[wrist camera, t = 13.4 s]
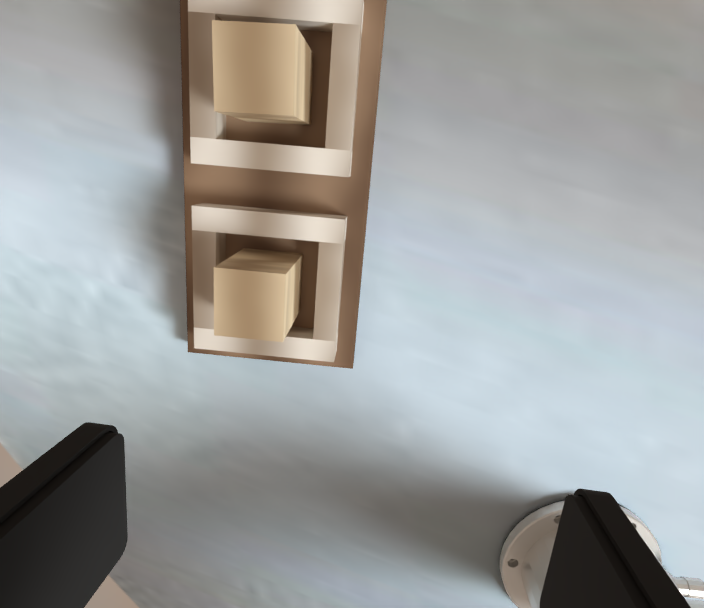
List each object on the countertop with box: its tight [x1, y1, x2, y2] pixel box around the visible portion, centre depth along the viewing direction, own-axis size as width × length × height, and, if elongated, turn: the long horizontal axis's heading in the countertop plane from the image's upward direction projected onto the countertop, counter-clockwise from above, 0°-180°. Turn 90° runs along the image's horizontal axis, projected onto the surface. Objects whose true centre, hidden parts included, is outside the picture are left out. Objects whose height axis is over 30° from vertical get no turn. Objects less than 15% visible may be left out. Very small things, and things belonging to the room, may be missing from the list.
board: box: [180, 0, 387, 369], centre depth 28 cm, size 12×24×8 cm, turn 175°
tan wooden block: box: [212, 20, 313, 125], centre depth 25 cm, size 4×4×6 cm
